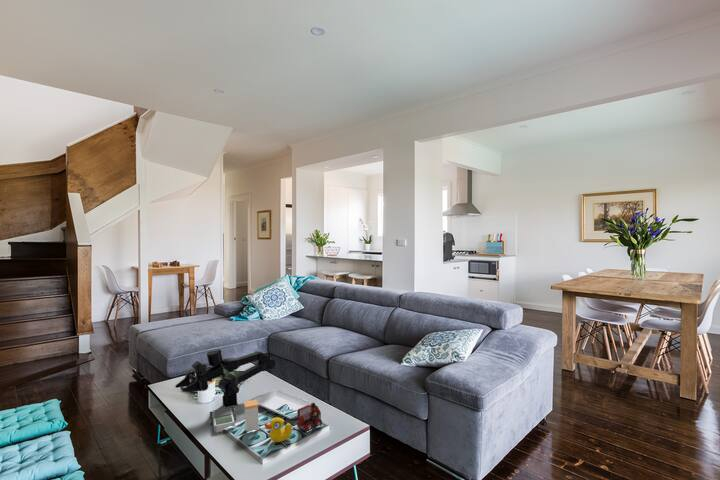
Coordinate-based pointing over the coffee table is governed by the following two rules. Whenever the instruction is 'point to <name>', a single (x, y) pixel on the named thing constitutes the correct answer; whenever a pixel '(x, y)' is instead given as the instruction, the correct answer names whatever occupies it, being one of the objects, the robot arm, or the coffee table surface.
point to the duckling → (278, 430)
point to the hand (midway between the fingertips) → (178, 388)
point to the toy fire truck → (309, 417)
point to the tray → (281, 401)
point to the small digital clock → (222, 419)
